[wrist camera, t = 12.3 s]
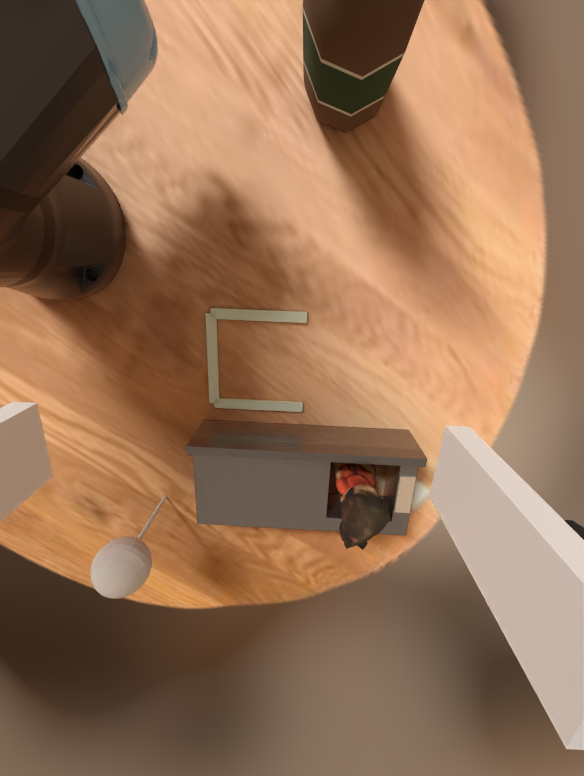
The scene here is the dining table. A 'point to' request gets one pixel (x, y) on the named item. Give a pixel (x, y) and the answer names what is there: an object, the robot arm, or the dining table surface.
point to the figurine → (359, 504)
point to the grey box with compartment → (295, 473)
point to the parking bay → (213, 356)
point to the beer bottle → (353, 55)
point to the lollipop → (123, 564)
